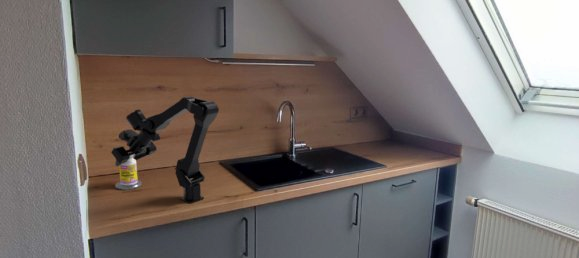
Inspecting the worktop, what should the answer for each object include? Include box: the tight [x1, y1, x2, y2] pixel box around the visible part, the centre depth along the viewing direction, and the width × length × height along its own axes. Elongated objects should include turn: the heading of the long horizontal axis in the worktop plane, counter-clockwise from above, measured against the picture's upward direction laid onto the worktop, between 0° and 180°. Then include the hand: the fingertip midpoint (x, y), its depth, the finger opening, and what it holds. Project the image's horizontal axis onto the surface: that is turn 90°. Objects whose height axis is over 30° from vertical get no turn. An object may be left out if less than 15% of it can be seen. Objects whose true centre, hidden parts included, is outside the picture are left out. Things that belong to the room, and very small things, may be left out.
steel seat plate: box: [114, 179, 142, 191], centre depth 155 cm, size 10×10×1 cm
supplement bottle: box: [118, 154, 139, 186], centre depth 153 cm, size 7×7×13 cm
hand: (125, 162), depth 153 cm, fingers open, 9 cm apart
